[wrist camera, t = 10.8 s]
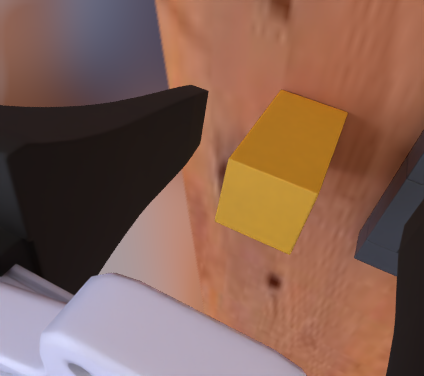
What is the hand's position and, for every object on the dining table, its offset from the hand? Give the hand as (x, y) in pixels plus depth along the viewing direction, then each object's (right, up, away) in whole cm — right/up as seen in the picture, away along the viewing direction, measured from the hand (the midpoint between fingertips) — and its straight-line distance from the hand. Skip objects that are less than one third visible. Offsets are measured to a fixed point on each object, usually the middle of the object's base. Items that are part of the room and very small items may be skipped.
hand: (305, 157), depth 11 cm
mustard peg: (+3, +3, +11) cm, 12 cm away
